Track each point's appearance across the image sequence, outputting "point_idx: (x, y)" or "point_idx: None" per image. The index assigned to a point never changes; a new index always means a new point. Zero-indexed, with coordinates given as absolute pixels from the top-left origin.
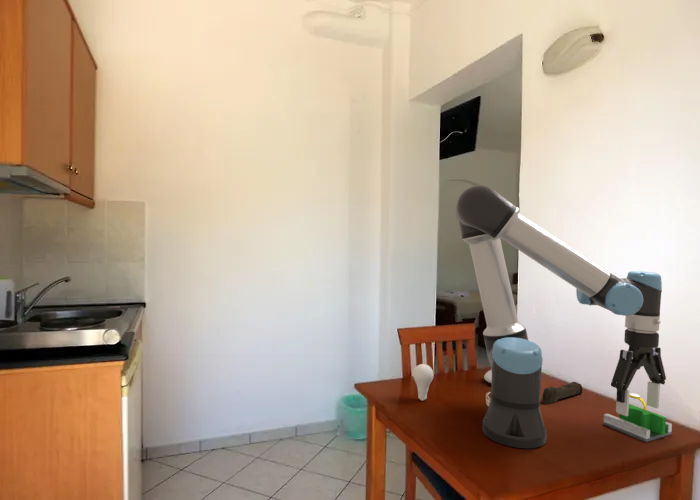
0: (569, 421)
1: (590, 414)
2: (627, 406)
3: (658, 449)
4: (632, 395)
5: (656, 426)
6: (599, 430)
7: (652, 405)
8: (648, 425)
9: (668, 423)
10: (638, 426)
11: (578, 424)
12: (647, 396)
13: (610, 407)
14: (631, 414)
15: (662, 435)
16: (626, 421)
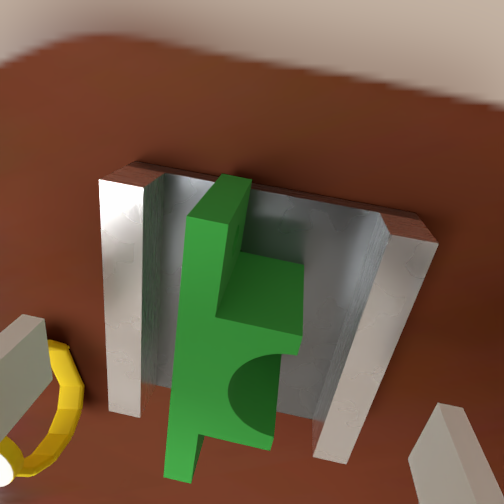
0: None
1: (261, 470)
2: (493, 490)
3: (483, 121)
4: (7, 471)
5: (238, 233)
6: None
7: (40, 355)
8: (255, 272)
9: (116, 197)
10: (386, 302)
11: None
12: (1, 437)
13: (87, 442)
14: (248, 385)
15: None
16: (356, 369)
